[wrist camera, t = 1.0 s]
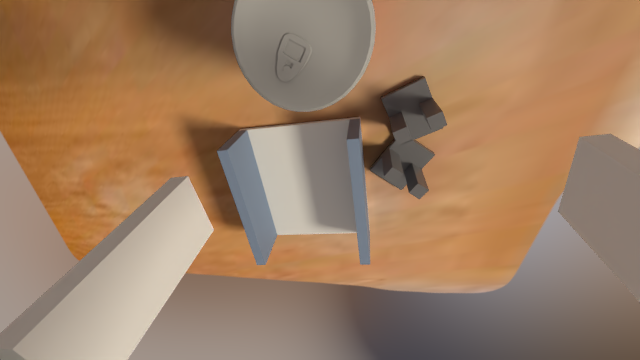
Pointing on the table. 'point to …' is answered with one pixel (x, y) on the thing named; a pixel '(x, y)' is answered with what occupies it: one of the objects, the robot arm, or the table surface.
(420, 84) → the clip
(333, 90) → the canned food
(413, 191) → the clip
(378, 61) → the table surface
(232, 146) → the holder
